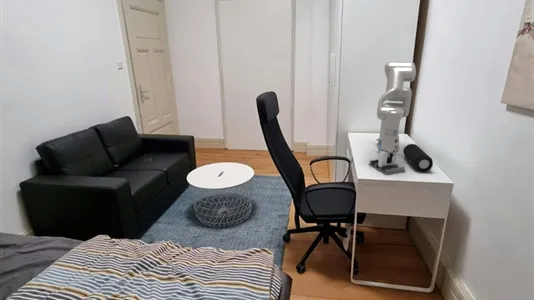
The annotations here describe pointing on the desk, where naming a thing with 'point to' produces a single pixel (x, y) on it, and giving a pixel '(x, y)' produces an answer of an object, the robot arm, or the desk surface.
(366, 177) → the desk surface
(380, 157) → the white block
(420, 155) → the portable speaker
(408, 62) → the robot arm
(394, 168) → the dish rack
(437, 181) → the desk surface
